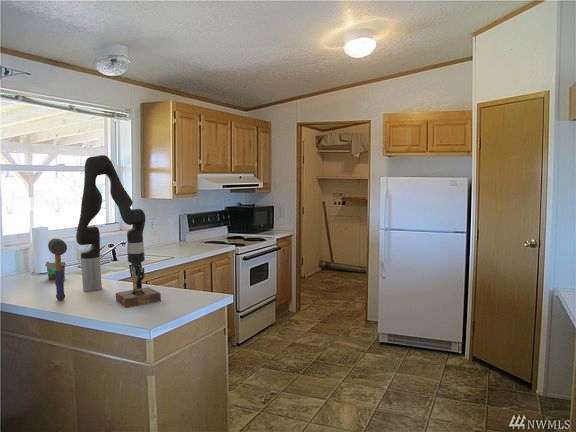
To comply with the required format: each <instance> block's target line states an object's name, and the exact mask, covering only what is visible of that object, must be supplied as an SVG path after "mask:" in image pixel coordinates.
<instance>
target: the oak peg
mask: <svg viewBox="0 0 576 432" xmlns="http://www.w3.org/2000/svg"><path fill="white" fill-rule="evenodd" d="M136 274H138V273H136ZM132 276H133V279H132V288H133V289H132V290H133V295H137V294H142V288H143V287H142V288H140V289H138V288H137V282H136V281H137V280H136V276H135V274H134V271H132Z"/></svg>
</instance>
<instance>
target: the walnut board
mask: <svg viewBox="0 0 576 432" xmlns="http://www.w3.org/2000/svg"><path fill="white" fill-rule="evenodd" d="M161 300H162V296H161V292H159V291H157V290H155V289H153V288H151V287H142V294H137V295H133V289H131V290H130V289H129V290H125V291H119V292H118V291H117V292H116V293H115V301H116V302H117V303H119V304H120V305H122V306H123V307H125V308H126V309H128V308H132V307H138V306H143V305H148V304H153V303H159V302H162V301H161Z"/></svg>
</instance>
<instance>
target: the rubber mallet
mask: <svg viewBox="0 0 576 432" xmlns="http://www.w3.org/2000/svg"><path fill="white" fill-rule="evenodd" d="M47 248H48V250H49V251H50V252H49V253H52V254H53V255H54V263H55V265H56V272H55V280H54V282H55V287H56V289H55V290H56V295H55V298H56V300H57V301H60V302H61V301H64V300H65V298H66V294H65V285H64V284H65V278H64V276H63V271H62V267H61V262H62V258H61V257H62V256H63V255H64V254H65V253H66V252H67V251H68V250H67V249H68V246H67V243H66V242H65V241H64V240H63V239H60V238H52V239H50V240H49V241H48V243H47Z"/></svg>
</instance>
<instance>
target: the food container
mask: <svg viewBox="0 0 576 432" xmlns="http://www.w3.org/2000/svg"><path fill="white" fill-rule="evenodd" d="M66 266H67V265H66V262H65V261H61V267H62V271H63V276H64V279H65V277H66V276H65V275H66V274H65V273H66V272H65V271H66V270H65V269H66ZM45 267H46V272H47V277H48V278H47V279H48V280H50V281H55V272H56V265H55V262H50V261H49V260H48V261H45Z"/></svg>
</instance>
